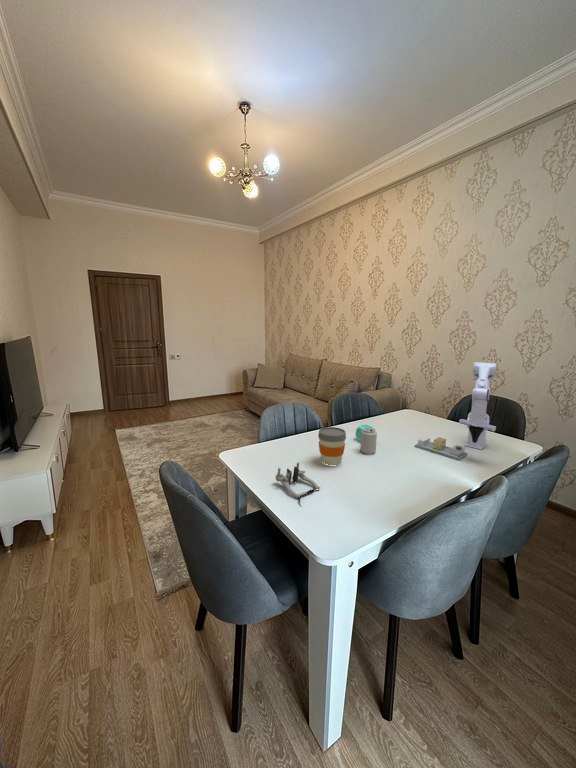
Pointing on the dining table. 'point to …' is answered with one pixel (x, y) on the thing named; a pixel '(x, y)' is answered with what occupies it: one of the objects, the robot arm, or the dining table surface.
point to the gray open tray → (428, 446)
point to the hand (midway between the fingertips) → (474, 441)
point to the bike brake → (287, 480)
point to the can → (368, 440)
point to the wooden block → (439, 444)
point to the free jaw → (457, 450)
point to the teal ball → (360, 428)
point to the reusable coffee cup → (331, 445)
